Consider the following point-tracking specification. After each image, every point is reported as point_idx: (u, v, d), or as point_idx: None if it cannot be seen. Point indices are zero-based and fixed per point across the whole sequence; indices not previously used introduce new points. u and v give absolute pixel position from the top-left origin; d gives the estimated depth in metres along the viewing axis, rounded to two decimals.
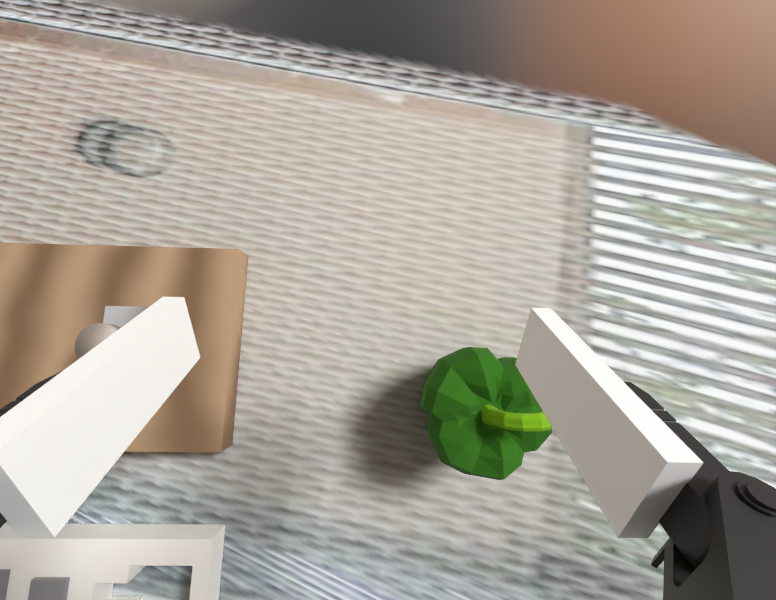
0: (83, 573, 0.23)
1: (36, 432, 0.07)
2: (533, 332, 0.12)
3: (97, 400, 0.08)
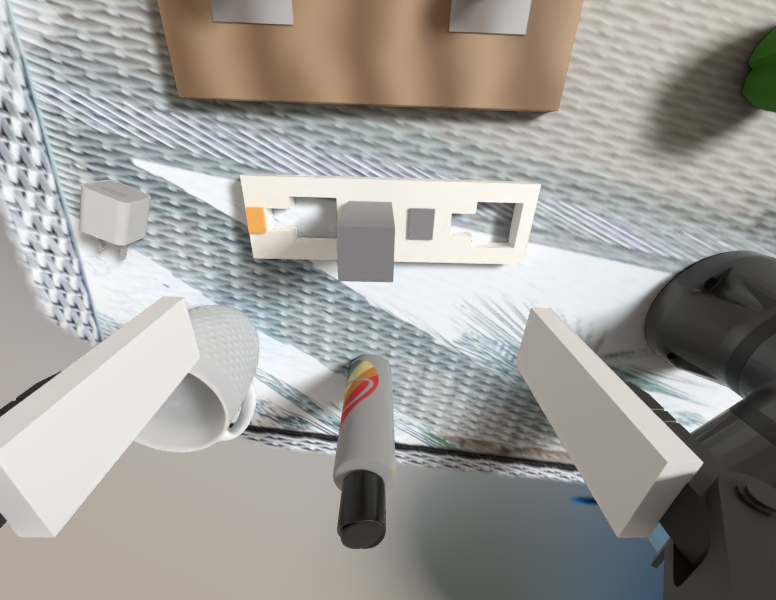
0: (444, 206, 0.31)
1: (36, 432, 0.07)
2: (533, 332, 0.12)
3: (97, 400, 0.08)
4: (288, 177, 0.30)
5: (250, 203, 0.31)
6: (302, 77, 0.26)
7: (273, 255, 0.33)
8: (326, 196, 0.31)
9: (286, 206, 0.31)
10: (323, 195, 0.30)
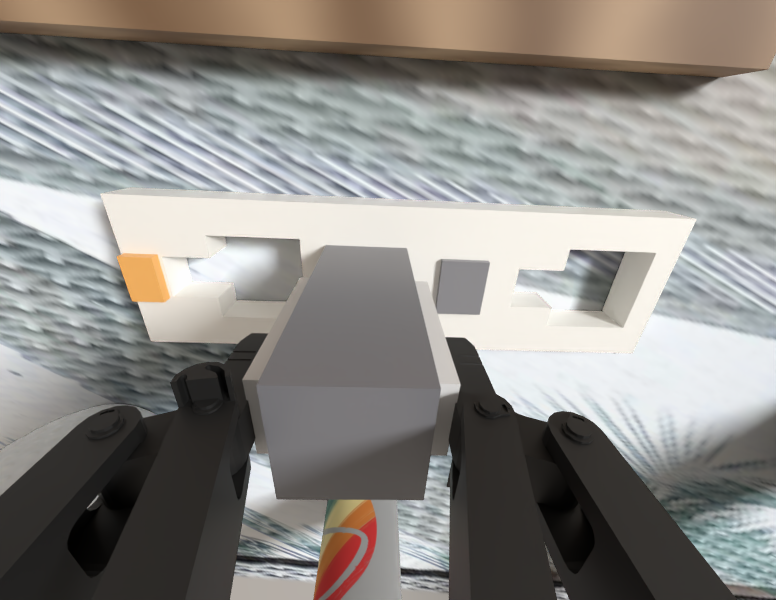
0: (506, 256, 0.16)
1: None
2: None
3: None
4: (201, 199, 0.15)
5: (130, 248, 0.16)
6: None
7: (187, 337, 0.18)
8: (280, 236, 0.16)
9: (202, 253, 0.16)
10: (274, 234, 0.16)
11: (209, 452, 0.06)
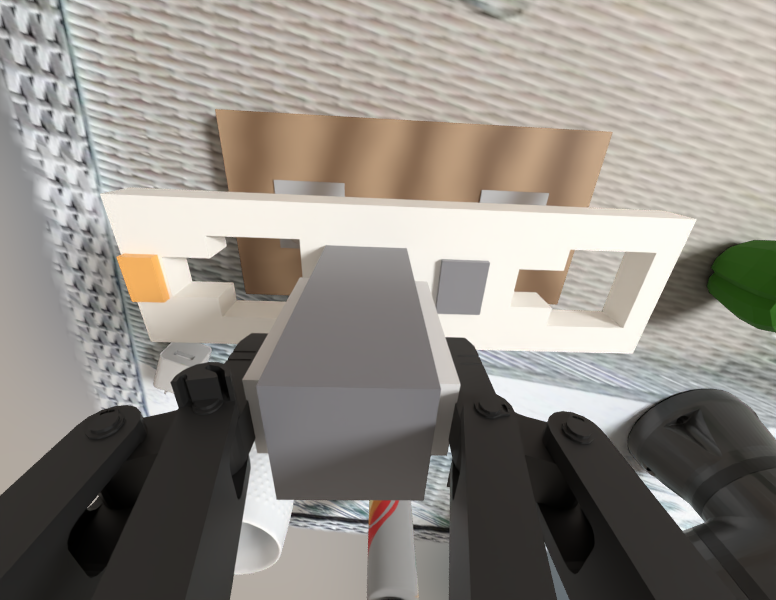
0: (506, 257, 0.16)
1: None
2: None
3: None
4: (201, 199, 0.15)
5: (129, 248, 0.16)
6: None
7: (187, 337, 0.18)
8: (279, 236, 0.16)
9: (202, 253, 0.16)
10: (273, 234, 0.16)
11: (209, 452, 0.06)
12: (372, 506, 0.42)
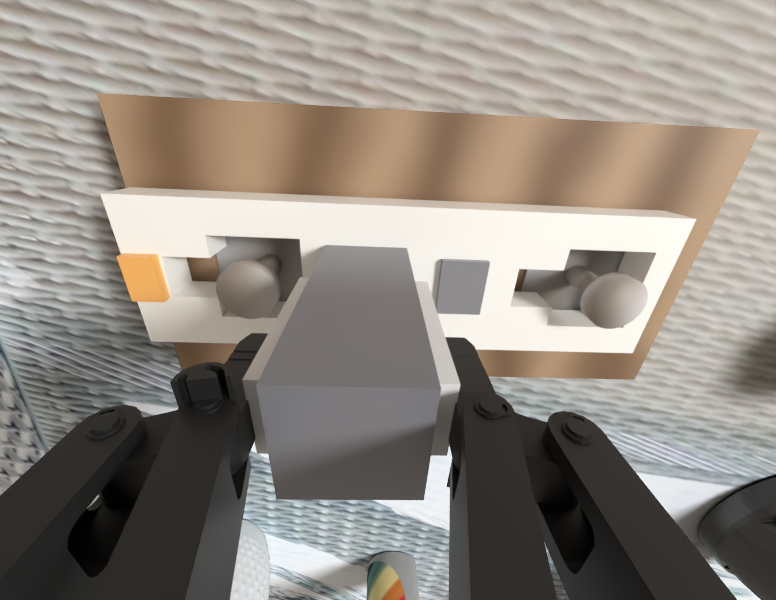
0: (506, 256, 0.16)
1: None
2: None
3: None
4: (201, 199, 0.15)
5: (129, 248, 0.16)
6: None
7: (187, 337, 0.18)
8: (279, 236, 0.16)
9: (202, 253, 0.16)
10: (273, 234, 0.16)
11: (209, 452, 0.06)
12: None
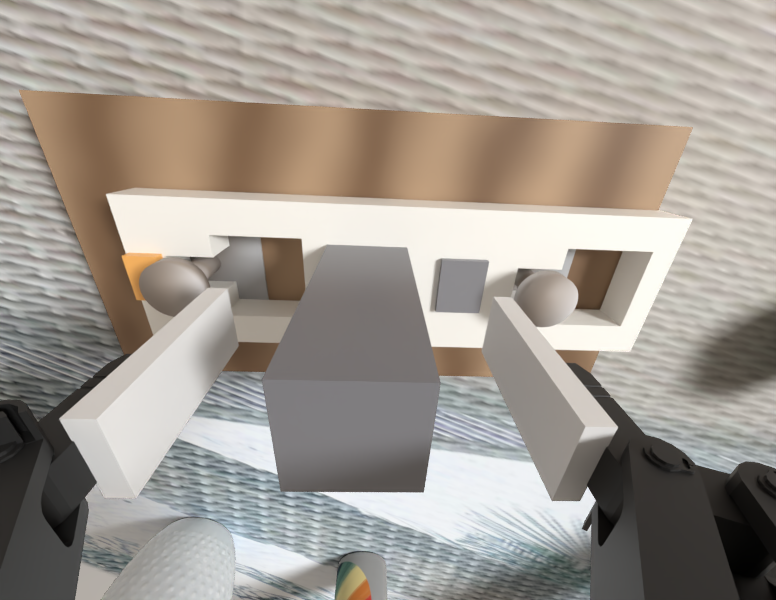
0: (505, 256, 0.17)
1: (125, 402, 0.07)
2: (494, 319, 0.13)
3: (166, 378, 0.09)
4: (204, 199, 0.15)
5: (134, 247, 0.16)
6: None
7: None
8: (282, 235, 0.16)
9: (206, 253, 0.16)
10: (276, 234, 0.16)
11: (3, 504, 0.05)
12: None
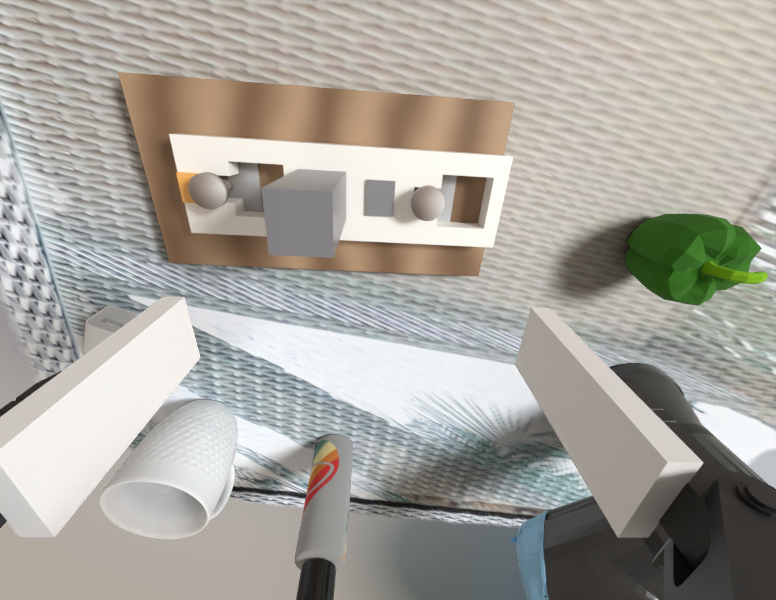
0: (405, 178, 0.28)
1: (36, 432, 0.07)
2: (533, 332, 0.12)
3: (97, 400, 0.08)
4: (226, 138, 0.26)
5: (183, 168, 0.27)
6: None
7: (214, 230, 0.29)
8: (271, 162, 0.27)
9: (225, 173, 0.27)
10: (268, 161, 0.27)
11: None
12: (311, 476, 0.43)
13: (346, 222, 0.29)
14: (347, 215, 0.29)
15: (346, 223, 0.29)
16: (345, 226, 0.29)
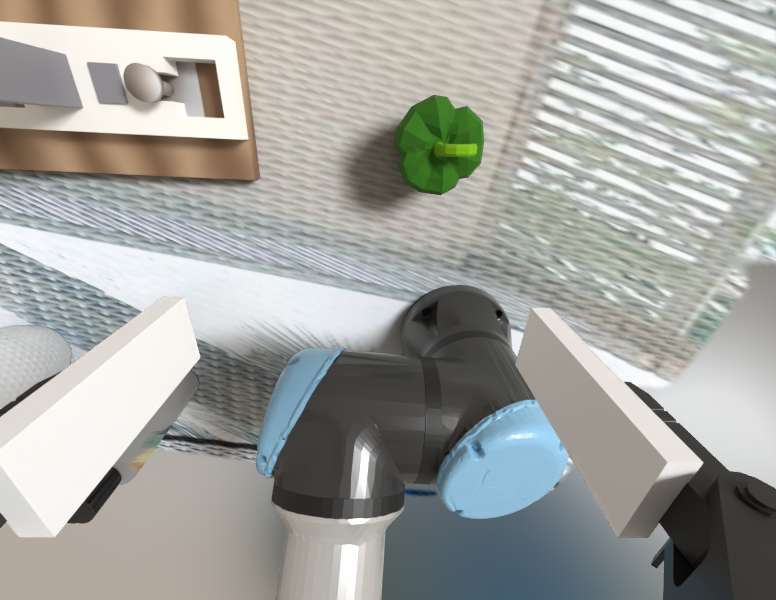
0: (127, 61, 0.28)
1: (36, 432, 0.07)
2: (533, 332, 0.12)
3: (97, 400, 0.08)
4: None
5: None
6: (39, 153, 0.33)
7: None
8: None
9: None
10: None
11: None
12: None
13: (84, 111, 0.30)
14: (83, 103, 0.30)
15: (85, 112, 0.30)
16: (85, 116, 0.30)
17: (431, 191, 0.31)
